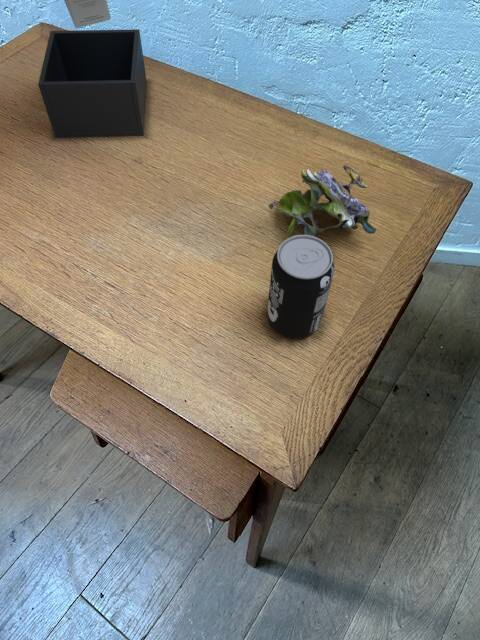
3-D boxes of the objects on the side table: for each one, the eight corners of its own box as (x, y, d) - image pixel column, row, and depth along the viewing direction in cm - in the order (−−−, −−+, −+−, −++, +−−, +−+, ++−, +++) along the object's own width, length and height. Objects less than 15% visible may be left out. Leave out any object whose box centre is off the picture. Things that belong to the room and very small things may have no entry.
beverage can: (258, 305, 68) (263, 240, 58) (307, 290, 69) (320, 224, 59) (279, 349, 64) (288, 288, 54) (329, 332, 66) (348, 270, 56)
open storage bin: (55, 137, 84) (37, 84, 76) (65, 84, 91) (50, 30, 83) (143, 135, 84) (135, 82, 77) (146, 82, 92) (139, 29, 84)
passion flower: (336, 246, 80) (399, 219, 70) (286, 277, 74) (346, 253, 64) (300, 176, 79) (359, 138, 69) (247, 202, 73) (302, 165, 63)
